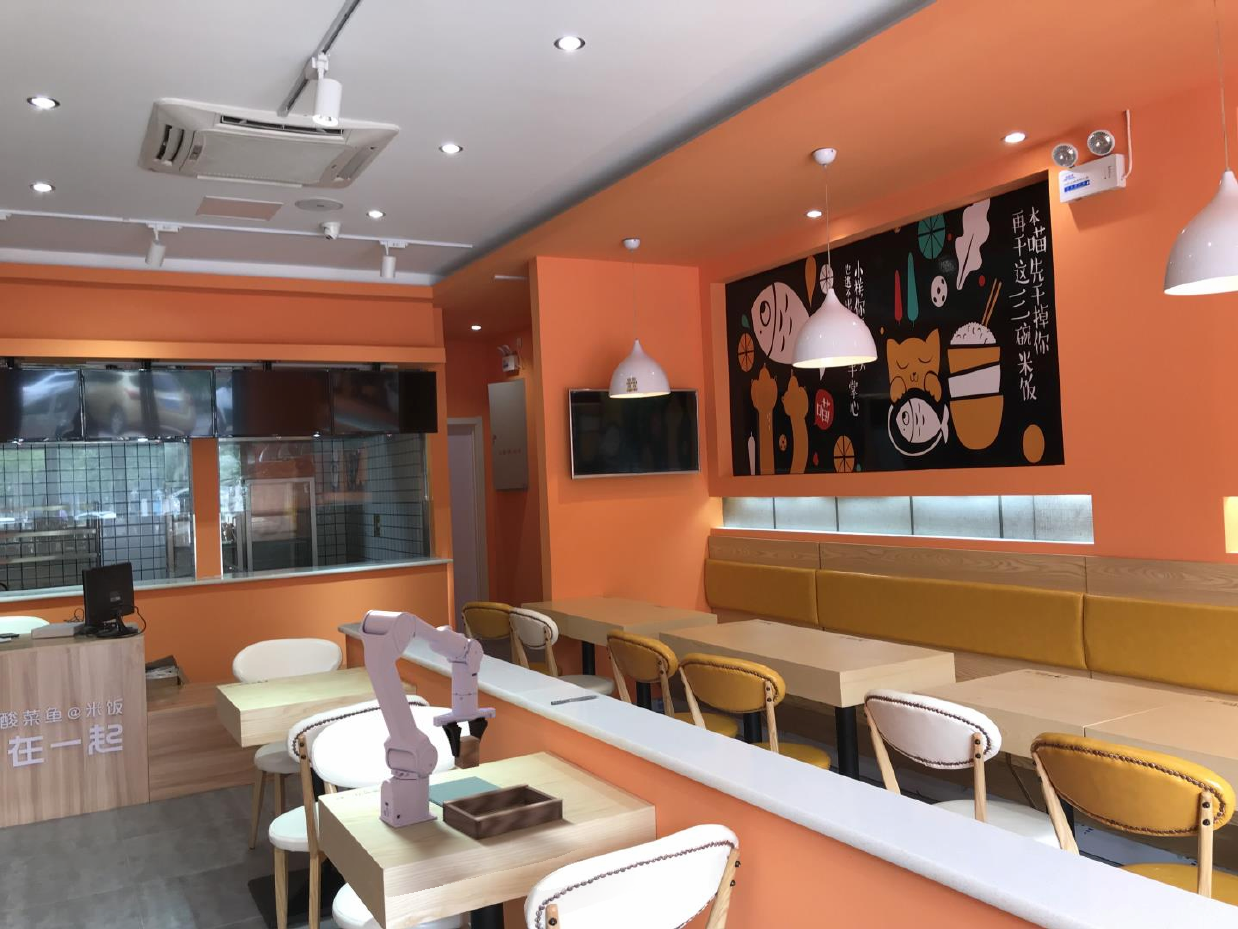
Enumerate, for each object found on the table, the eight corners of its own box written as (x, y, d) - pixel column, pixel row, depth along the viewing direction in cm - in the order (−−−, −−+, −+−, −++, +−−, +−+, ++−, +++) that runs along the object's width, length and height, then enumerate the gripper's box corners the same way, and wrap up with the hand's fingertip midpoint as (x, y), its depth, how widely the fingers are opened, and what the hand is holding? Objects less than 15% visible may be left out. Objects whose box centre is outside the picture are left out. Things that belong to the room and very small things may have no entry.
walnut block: (463, 769, 211) (463, 742, 211) (454, 765, 214) (454, 737, 214) (479, 766, 213) (479, 739, 213) (470, 761, 217) (470, 735, 217)
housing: (477, 840, 186) (477, 820, 186) (442, 820, 197) (442, 801, 197) (562, 818, 199) (562, 799, 199) (525, 801, 210) (525, 783, 210)
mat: (446, 809, 204) (446, 807, 204) (412, 791, 217) (412, 789, 217) (511, 794, 214) (511, 792, 214) (475, 778, 227) (475, 776, 227)
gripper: (443, 700, 207) (443, 764, 207) (502, 691, 216) (502, 752, 216) (428, 694, 213) (428, 757, 212) (486, 686, 222) (486, 746, 221)
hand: (464, 754), depth 214 cm, fingers closed on walnut block, 4 cm apart
